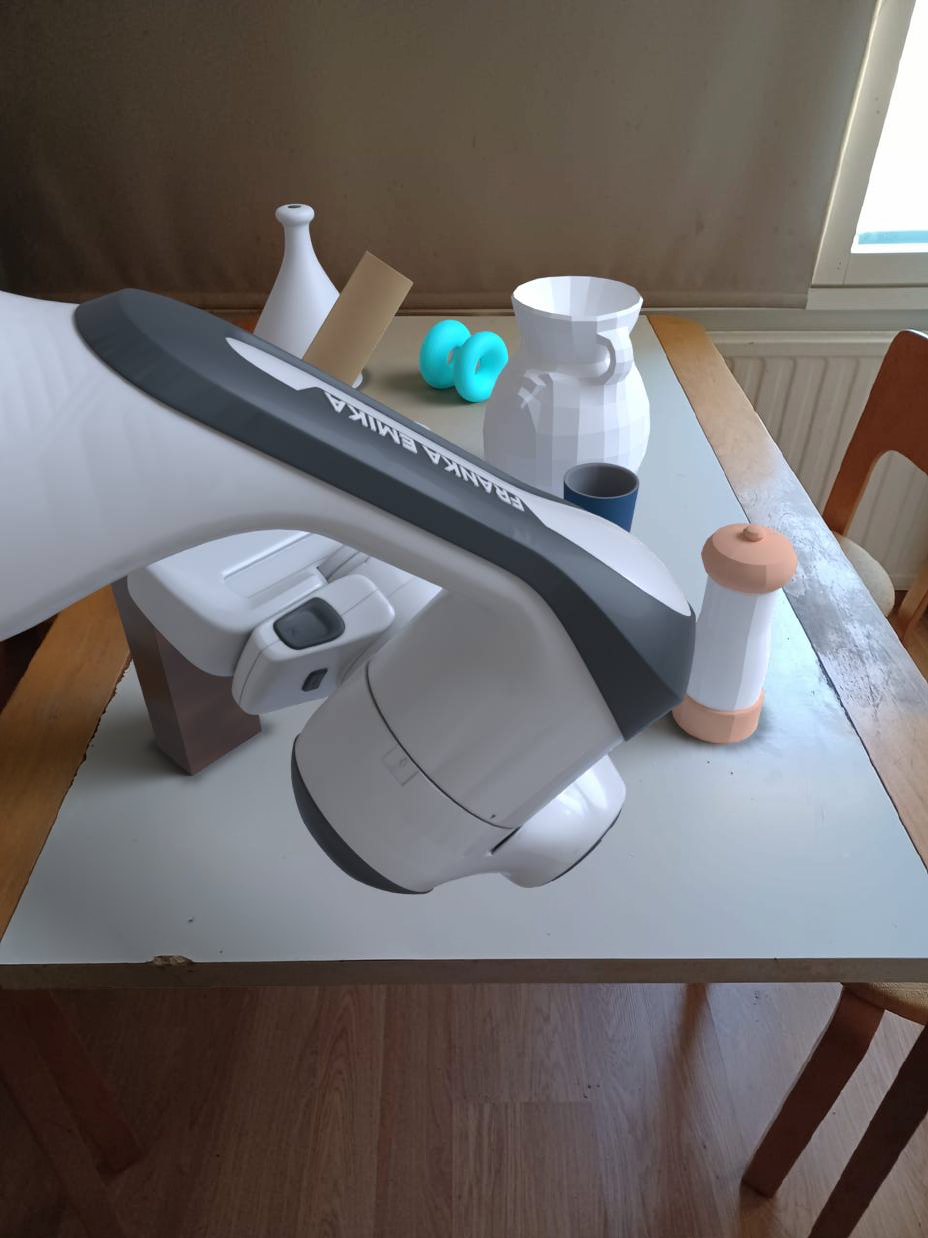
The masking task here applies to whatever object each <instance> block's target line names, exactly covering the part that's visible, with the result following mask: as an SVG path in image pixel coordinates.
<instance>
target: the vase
mask: <svg viewBox="0 0 928 1238" xmlns="http://www.w3.org/2000/svg"><path fill="white" fill-rule="evenodd" d="M275 218H276V220H277V221H278V222H279V223H281V225H282V226H283V230H284V253H283V257H282V258H283V259H282V262H281V266H280V268H279V271H278V274H277V276H276V279H275V281H274V284H273V286H272V288H271V290H270V294H269V296H268V298H267V300H266V302H265V305H264V307H263V309H262V311H261V314H260V316H259V318H258V320H257V323H256V325H255V327H254V330H253V333H252V334H254V335H256V336H258V337H260V338H262V339H263V340H265V341H267V342H269V343H271V344H273V345H275V346H277V347H279V348H281V349H283V350H285V351H287V352H288V353H290V354H292V355H294V356H296V357H298V358H300V359H302V358H303V356H304V354H305V353H306V351H307V349H308V348H309V346H310V344H311V343H312V341H313V339H314V337H315V336H316V334H317V332H318V331H319V329H320V327H321V326H322V324H323V322H324V321H325V319H326V317H327V315H328V314H329V312H330V310H331V309H332V307H333V305H334V304H335V302H336V300H337V299H338V297H339V295H340V294H341V293H340V292H339V291H338V290H337V288H336V286H335V285H334V283H333V282H332V281H331V280H330V278H329V276H328V274H327V272H326V271H325V270H324V268H323V266H322V265H321V263H320V262H319V260H318V258H317V256H316V253H315V250H314V248H313V244H312V241H311V240H312V239H311V233H310V224H311V222H312V221H313V219H314V218H315V211H314V209H313V208H312V207H311V206H309V205H308V204H302V203H291V204H284V205H281V206H280V207H278V208H277V209H276V210H275ZM362 382H363V375H362V372H361V373H360V374H359V376H358V378H357V379H356V381H355V383H354V384H353V386H352V387H353V388H355V389H357V388H358V387H359V386H360V385H361V383H362Z"/></svg>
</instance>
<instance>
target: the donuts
mask: <svg viewBox="0 0 928 1238" xmlns="http://www.w3.org/2000/svg"><path fill="white" fill-rule="evenodd" d="M451 351H452V354H451V358H450V359H449V355H450V353H451ZM448 360H449V361H448ZM508 360H509V355H508V349H507V346H506V344H505V342H504V340H503V339H502V338H501V337H500V336H499V335H498V334H496V333H495V332H492V331H488V330H487V331H486V330H484V331H479V332H476V333H474V334H471V332H470V331H469V329H468V328H467V326H466V325H464V324H463V323H462V322H460V321H458V320H455V319H445V320H441V321H439V322H437V323H436V324H434V325H433V326H432V327H431V328H430V329H429V330H428V332H427V333H426V335H425V337H424V338H423V340H422V343H421V345H420V349H419V355H418V365H419V370H420V371H419V372H420V374H421V376H422V378H423V379H424V381H425V382H426V383H427V384H428V385H430V387H432V388H435V389H438V390H439V389H440V390H445V389H449V388H452V387H455V389H456V391H457V393H458V394H459V395H460V396H461V398H463V399H464V400H466V401H468V402H470V403H481V402H484V401H486V400H487V401H488V400H489V397H490V395H491V392H492V389H493V387H494V384H495V382H496V380H497V377H498V375H499V373H500V372H501V371H502V369H503V368H504V366H505V365H506V363H507V362H508ZM477 365H478V367H477Z"/></svg>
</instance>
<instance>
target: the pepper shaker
mask: <svg viewBox="0 0 928 1238" xmlns="http://www.w3.org/2000/svg"><path fill="white" fill-rule="evenodd" d="M700 556H701V561H702V565H703V568H704V571H705V573H706V574H707V579H706V583H705V588H704V594H703V599H702V604H701V608H700V612H699V615H698V617H697V618H696V638H695V650H694V657H693V664H692V669H691V674H690V679H689V684H688V688H687V692H686V696H685V700H684V702H682V703H681V704H679V705H678V706H676V707H675V708H674V709H672V710H671V711H672V717H673V719H674V720H675V722H676V723H677V726H679V727H680V728H681V729H682V730H683V731H685V732H686V733H687V734H689V736H693V737H694V738H696V739H698V740H701V741H704V742H708V743H712V744H722V745H723V744H725V745H726V744H728V745H729V744H733V743H740V742H742V741H744V740H746V739H748V738H749V737H751V736H752V735H753V734H754V732H755V731H756V730H757V727H758V724H759V719H760V717H761V712H762V709H763V704H764V700H765V691H764V688H763V687H764V682H765V679H766V676H767V673H768V670H769V666H770V659H771V637H772V623H773V618H774V616H775V615H774V614H775V610H776V606H777V602H778V597H779V593H780V589H783V587H784V586H786V585H787V584H788V583H789V582H790V581H791V579H792V578H793V577H794V575H795V574H796V572H797V570H798V569H797V568H798V555H797V553H796V551H795V549H794V546H793V544H792V542H791V540H789V539H788V538H787V537H786V536H785V535H784V534H783V533H781V532H779V531H777V530H776V529H774V528H771V527H767V526H764V525H761V524H757V523H756V524H755V523H744V522H741V523H739V522H738V523H731V524H727V525H725V526H722V527H719V528H717V530H715V531H714V533H712V534H710V536H709V537H708V538H706V540H705V542H704V545H703V546H702V549H701V551H700Z"/></svg>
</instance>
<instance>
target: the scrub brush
mask: <svg viewBox="0 0 928 1238" xmlns="http://www.w3.org/2000/svg"><path fill="white" fill-rule="evenodd" d="M413 285H414V282H413V281H412V280H411V279H409V278H408V277H406V276H405V275H403V274H402V273H400V272H399V271H397V270H396V269H395V268H393V267H391V266H390V265H389V264H387V263H386V262H384V261H383V260H381V259H379V257H377V256H375V255H374V254H372V253H371V252H369V251H368V250H365V251H364V253H363V255H362V257H361V258H360V259H359V261H358V263H357V265H356V267H355V268H354V269H353V272H352V273H351V275H350V276H349V278H348V280H347V282H346V283H345V284H344V287H343V288H342V290H341V292H340V293H339V294H340V295H339V297H338V299H337V300H336V302H335V304H334V305H333V307H332V309H331V310H330V312H329V314H328V315H327V317H326V319H325V321H324V322H323V324H322V326H321V327H320V329H319V331H318V332H317V334H316V336H315V337H314V339H313V341H312V343H311V344H310V346H309V348H308V349H307V351H306V353H305V354H304V356H303V358H302V360H303V361H305V362H307V363H309V364H311V365H313V366H315V367H316V368H318V369H320V370H322V371H324V372H326V373H327V374H329V375H331V376H333V377H335V378H337V379H338V380H340V381H342V382H344V383H346V384H348V385H349V386H351V387H352V386H353V384H354V383H355V381H356V379H357V378H358V376H359V374H360V373H361V374H362V371H363V369H364V368H365V366H366V364H367V363H368V361H369V359H370V357H372V354H373V352H374V351H375V349H376V347H377V345H378V344H379V342H380V340H381V339H382V337H383V336H384V334H385V332H386V331H387V328H388V327H389V326H390V324H391V322H392V320H393V319H394V318H395V315H396V314H397V312H398V310H399V308H400V307H401V305H402V303H403V302H404V301H405V299H406V297H407V295H408V293H409V292H410V290H411V288H412V287H413Z"/></svg>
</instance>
